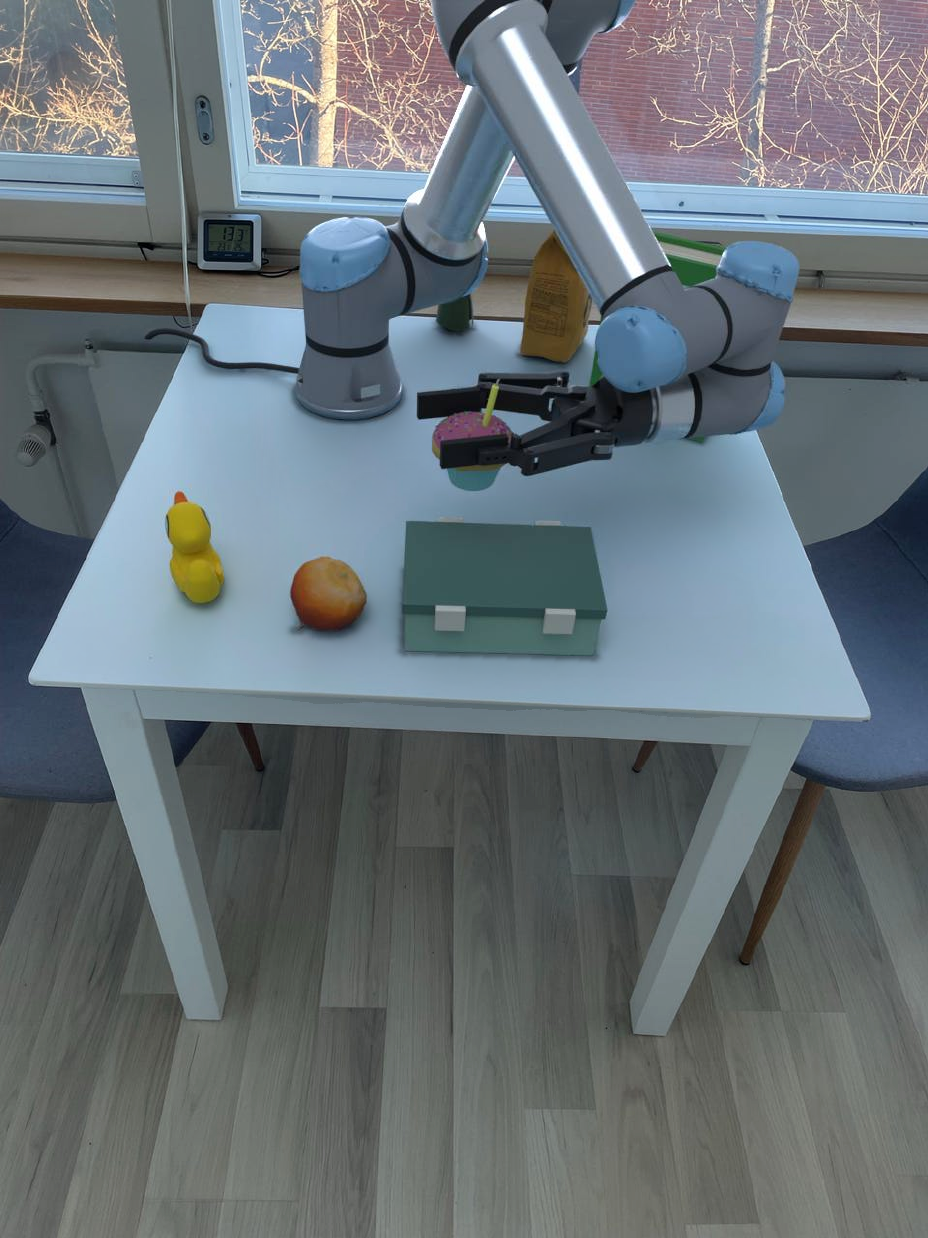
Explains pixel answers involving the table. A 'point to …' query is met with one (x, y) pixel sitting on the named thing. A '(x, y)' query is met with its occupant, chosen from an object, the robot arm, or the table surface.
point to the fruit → (327, 594)
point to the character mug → (456, 313)
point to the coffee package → (554, 305)
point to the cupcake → (466, 428)
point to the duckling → (193, 551)
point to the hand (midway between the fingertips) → (429, 429)
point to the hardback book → (681, 272)
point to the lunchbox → (501, 588)
